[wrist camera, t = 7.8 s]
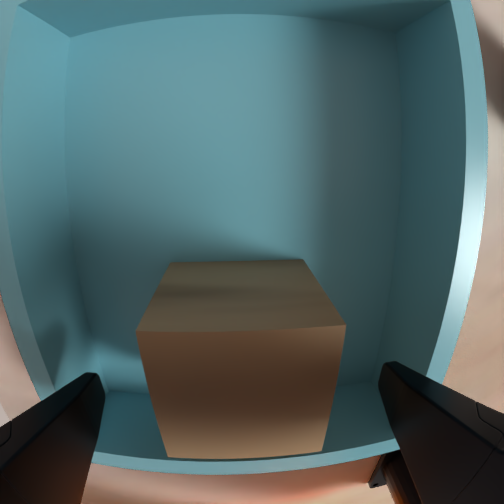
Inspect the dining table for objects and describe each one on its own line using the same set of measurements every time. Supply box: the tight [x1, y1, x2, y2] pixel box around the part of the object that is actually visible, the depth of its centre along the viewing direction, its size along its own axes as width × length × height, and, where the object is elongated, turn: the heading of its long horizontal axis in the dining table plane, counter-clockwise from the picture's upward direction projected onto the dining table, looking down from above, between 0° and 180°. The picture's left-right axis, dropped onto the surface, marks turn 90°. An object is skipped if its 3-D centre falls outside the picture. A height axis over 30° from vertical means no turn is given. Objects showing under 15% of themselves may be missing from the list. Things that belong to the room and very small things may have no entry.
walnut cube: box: [136, 259, 346, 459], centre depth 10 cm, size 5×5×5 cm
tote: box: [0, 0, 488, 475], centre depth 10 cm, size 18×15×5 cm
